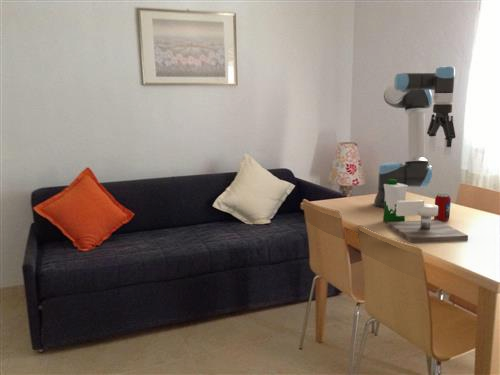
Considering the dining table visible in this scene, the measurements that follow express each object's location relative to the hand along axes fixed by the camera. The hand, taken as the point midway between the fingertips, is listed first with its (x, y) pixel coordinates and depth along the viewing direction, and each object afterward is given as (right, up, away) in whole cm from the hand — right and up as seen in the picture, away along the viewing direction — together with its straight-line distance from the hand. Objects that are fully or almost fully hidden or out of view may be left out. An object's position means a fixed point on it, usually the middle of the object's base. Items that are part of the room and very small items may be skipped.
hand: (439, 152), depth 194 cm
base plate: (-8, -35, -5) cm, 36 cm away
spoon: (-12, -27, -7) cm, 30 cm away
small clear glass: (-8, -33, -5) cm, 34 cm away
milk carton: (-16, -32, +12) cm, 38 cm away
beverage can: (+8, -31, +16) cm, 35 cm away
